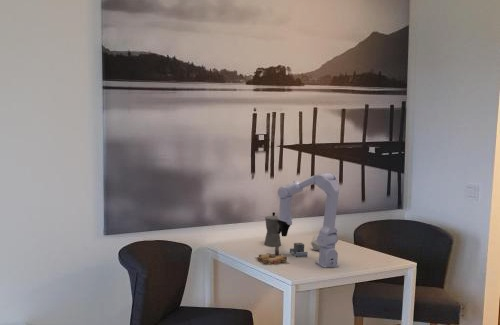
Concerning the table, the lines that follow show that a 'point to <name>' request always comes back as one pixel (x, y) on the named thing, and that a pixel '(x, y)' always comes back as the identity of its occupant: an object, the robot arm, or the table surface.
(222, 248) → the table surface
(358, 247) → the table surface
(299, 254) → the seat
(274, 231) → the coffeepot
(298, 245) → the dark grey block
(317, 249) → the grey faceted polyhedron
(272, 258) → the sprocket
